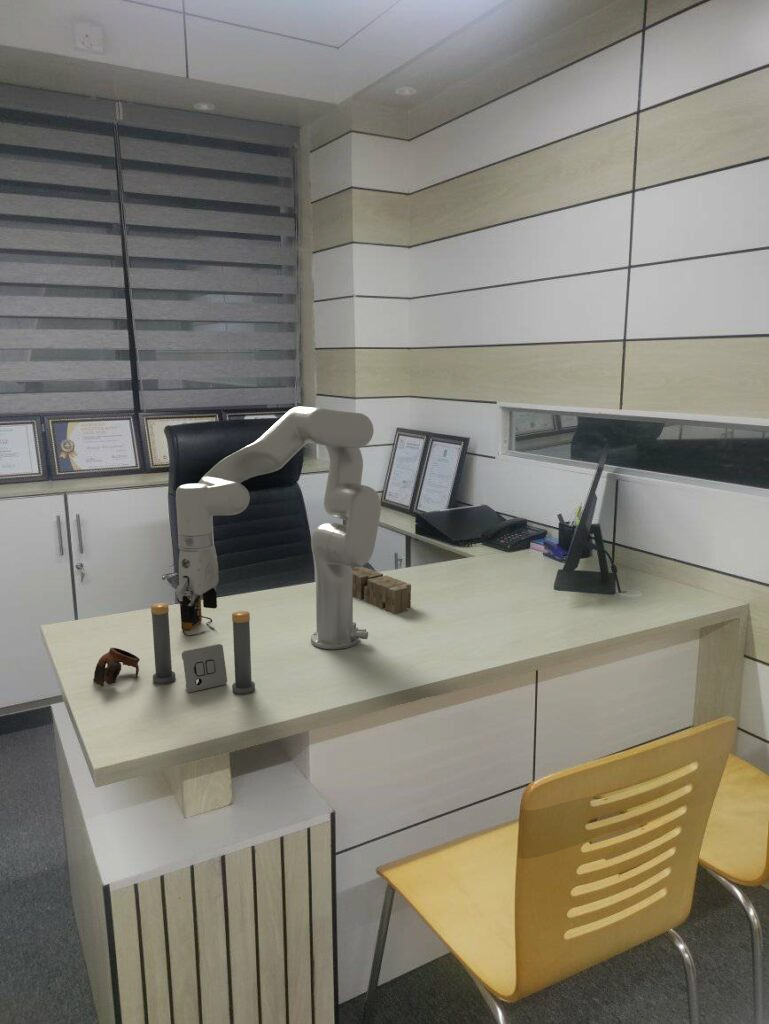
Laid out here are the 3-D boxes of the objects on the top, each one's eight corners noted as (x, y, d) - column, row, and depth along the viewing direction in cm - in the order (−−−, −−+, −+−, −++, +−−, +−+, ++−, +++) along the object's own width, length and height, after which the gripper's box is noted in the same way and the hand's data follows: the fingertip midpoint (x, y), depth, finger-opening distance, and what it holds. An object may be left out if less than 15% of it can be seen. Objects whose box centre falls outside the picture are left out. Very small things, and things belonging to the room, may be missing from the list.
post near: (258, 686, 168) (256, 611, 164) (249, 696, 163) (246, 618, 160) (238, 683, 169) (235, 609, 166) (228, 693, 165) (225, 616, 161)
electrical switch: (187, 694, 164) (184, 653, 163) (181, 687, 169) (177, 648, 168) (228, 685, 169) (225, 645, 168) (220, 678, 173) (218, 640, 172)
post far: (179, 676, 173) (175, 603, 169) (168, 685, 168) (163, 610, 165) (160, 674, 174) (155, 601, 171) (148, 683, 170) (143, 608, 166)
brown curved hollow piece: (92, 675, 175) (108, 643, 176) (131, 690, 176) (146, 658, 178) (84, 684, 163) (101, 649, 164) (125, 700, 165) (142, 665, 166)
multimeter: (209, 638, 196) (206, 565, 192) (174, 635, 198) (170, 563, 194) (231, 619, 210) (228, 551, 206) (198, 616, 212) (195, 549, 208)
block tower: (413, 612, 220) (355, 585, 242) (415, 585, 218) (355, 561, 240) (393, 618, 215) (335, 590, 237) (394, 590, 213) (335, 565, 235)
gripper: (191, 551, 153) (195, 630, 156) (229, 532, 169) (232, 603, 173) (159, 549, 154) (164, 626, 158) (199, 530, 171) (203, 601, 174)
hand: (199, 614), depth 165 cm, fingers open, 9 cm apart
